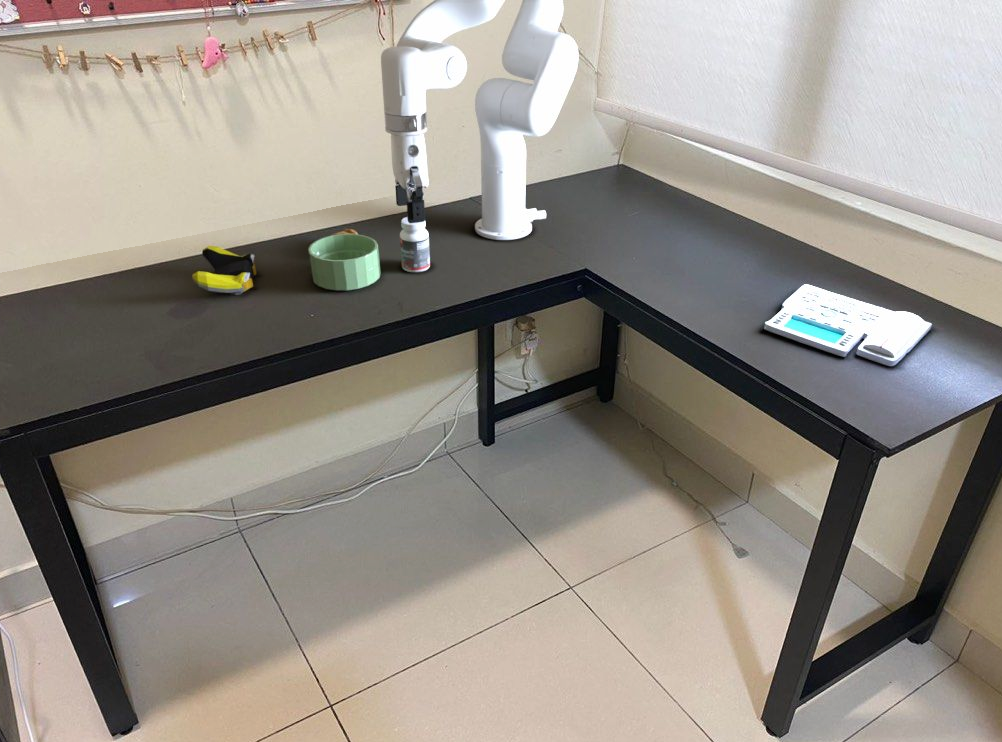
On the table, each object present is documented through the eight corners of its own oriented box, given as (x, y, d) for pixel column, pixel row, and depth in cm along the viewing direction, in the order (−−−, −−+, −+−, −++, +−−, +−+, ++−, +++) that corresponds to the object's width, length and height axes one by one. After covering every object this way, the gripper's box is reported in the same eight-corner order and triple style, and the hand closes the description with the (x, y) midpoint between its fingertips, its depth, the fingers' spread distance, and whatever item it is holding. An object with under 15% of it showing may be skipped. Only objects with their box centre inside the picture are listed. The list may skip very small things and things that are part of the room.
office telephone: (935, 316, 139) (896, 361, 126) (930, 329, 140) (892, 375, 127) (806, 277, 151) (759, 314, 138) (803, 289, 152) (757, 328, 140)
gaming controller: (195, 303, 147) (251, 300, 148) (188, 276, 144) (245, 272, 145) (208, 269, 159) (259, 266, 160) (202, 243, 156) (254, 240, 157)
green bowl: (373, 260, 163) (370, 230, 159) (386, 287, 153) (383, 255, 149) (309, 269, 159) (304, 238, 156) (318, 297, 149) (313, 264, 146)
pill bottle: (396, 267, 160) (392, 220, 155) (417, 259, 164) (414, 212, 158) (415, 275, 157) (411, 228, 151) (436, 267, 160) (433, 219, 155)
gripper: (438, 132, 138) (441, 227, 148) (414, 109, 152) (418, 197, 161) (395, 135, 136) (401, 231, 146) (375, 111, 150) (382, 200, 159)
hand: (410, 213), depth 154 cm, fingers open, 9 cm apart
